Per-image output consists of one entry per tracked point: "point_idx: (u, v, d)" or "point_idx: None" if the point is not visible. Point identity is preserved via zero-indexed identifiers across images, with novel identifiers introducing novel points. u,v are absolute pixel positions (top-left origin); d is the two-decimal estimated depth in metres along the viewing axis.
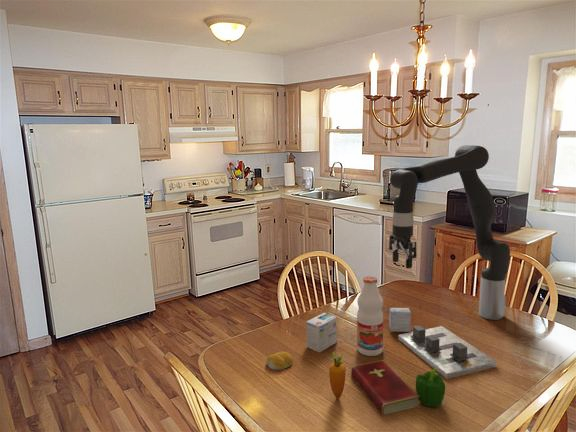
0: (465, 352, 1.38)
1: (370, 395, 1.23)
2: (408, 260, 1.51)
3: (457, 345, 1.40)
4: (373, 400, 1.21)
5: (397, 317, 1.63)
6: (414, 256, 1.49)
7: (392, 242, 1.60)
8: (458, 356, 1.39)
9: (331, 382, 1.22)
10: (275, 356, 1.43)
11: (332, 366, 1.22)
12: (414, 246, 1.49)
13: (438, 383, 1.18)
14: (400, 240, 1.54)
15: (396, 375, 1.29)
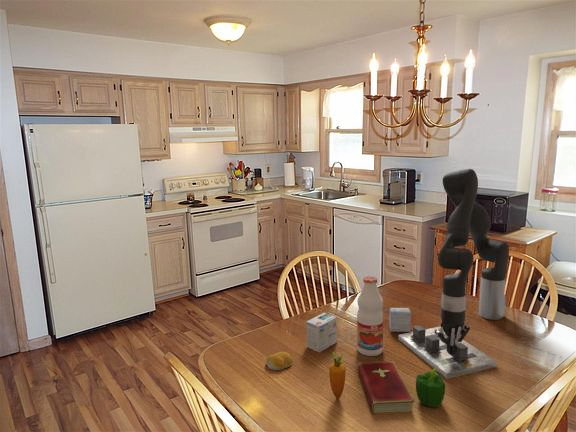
0: (465, 352, 1.39)
1: (366, 393, 1.24)
2: (455, 345, 1.38)
3: (457, 345, 1.40)
4: (368, 398, 1.22)
5: (397, 317, 1.63)
6: None
7: (443, 336, 1.36)
8: (458, 356, 1.39)
9: (331, 382, 1.22)
10: (274, 356, 1.42)
11: (332, 366, 1.22)
12: None
13: (438, 383, 1.18)
14: (455, 325, 1.36)
15: (399, 377, 1.28)
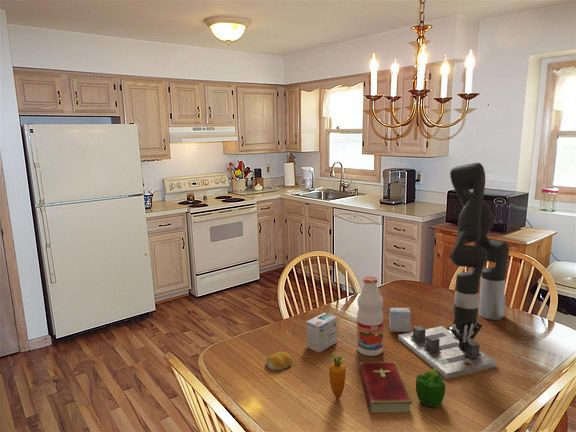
0: (477, 349, 1.40)
1: (365, 392, 1.25)
2: (467, 342, 1.40)
3: (469, 342, 1.41)
4: None
5: (397, 317, 1.63)
6: None
7: (456, 333, 1.38)
8: (470, 353, 1.40)
9: (331, 382, 1.22)
10: (274, 356, 1.42)
11: (332, 366, 1.22)
12: None
13: (438, 383, 1.18)
14: (468, 322, 1.38)
15: (400, 378, 1.28)
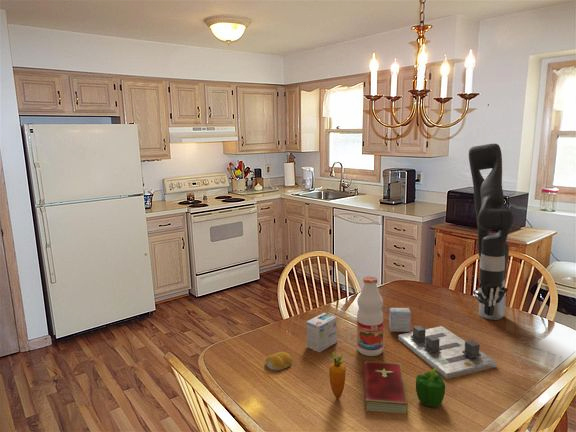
0: (477, 349, 1.40)
1: None
2: None
3: (469, 342, 1.41)
4: None
5: (397, 317, 1.63)
6: None
7: None
8: (470, 353, 1.40)
9: (331, 382, 1.22)
10: (274, 356, 1.42)
11: (332, 366, 1.22)
12: None
13: (438, 383, 1.18)
14: (493, 285, 1.38)
15: (401, 379, 1.27)
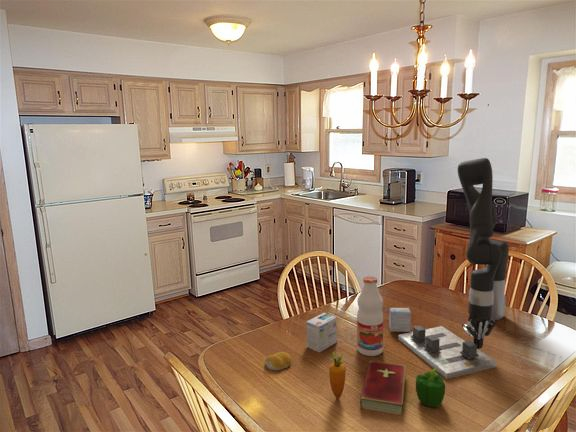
0: (475, 350, 1.40)
1: None
2: (482, 339, 1.41)
3: (467, 343, 1.41)
4: None
5: (397, 317, 1.63)
6: None
7: None
8: (468, 354, 1.40)
9: (331, 382, 1.22)
10: (274, 356, 1.42)
11: (332, 366, 1.22)
12: None
13: (438, 383, 1.18)
14: (482, 319, 1.39)
15: (401, 381, 1.26)
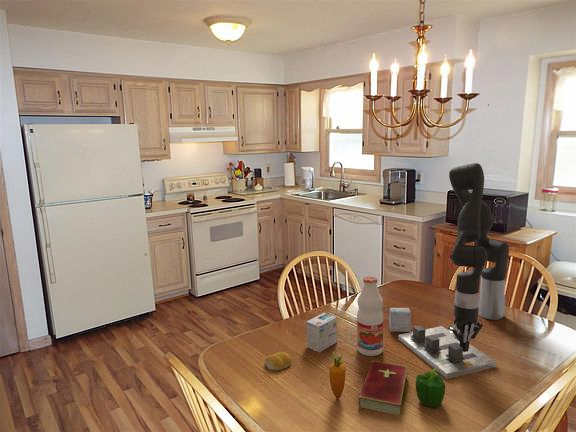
0: (461, 353, 1.38)
1: None
2: (468, 342, 1.39)
3: (453, 346, 1.39)
4: None
5: (397, 317, 1.63)
6: None
7: (457, 333, 1.37)
8: (454, 357, 1.38)
9: (331, 382, 1.22)
10: (274, 356, 1.42)
11: (332, 366, 1.22)
12: None
13: (438, 383, 1.18)
14: (468, 322, 1.37)
15: (402, 382, 1.26)
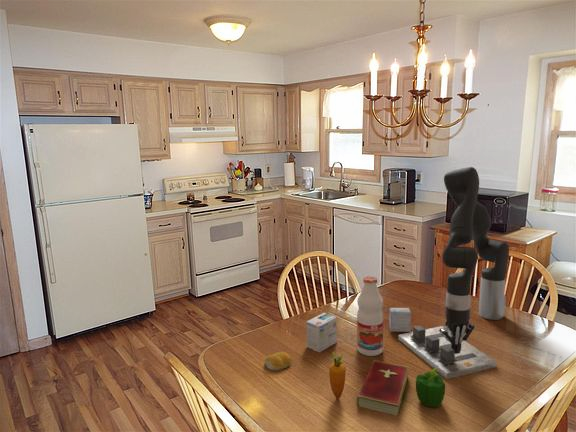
0: (452, 355, 1.37)
1: None
2: (460, 344, 1.38)
3: (444, 348, 1.38)
4: None
5: (397, 317, 1.63)
6: None
7: (448, 335, 1.36)
8: (445, 359, 1.37)
9: (331, 382, 1.22)
10: (273, 356, 1.42)
11: (332, 366, 1.22)
12: None
13: (438, 383, 1.18)
14: (460, 323, 1.36)
15: (402, 382, 1.26)
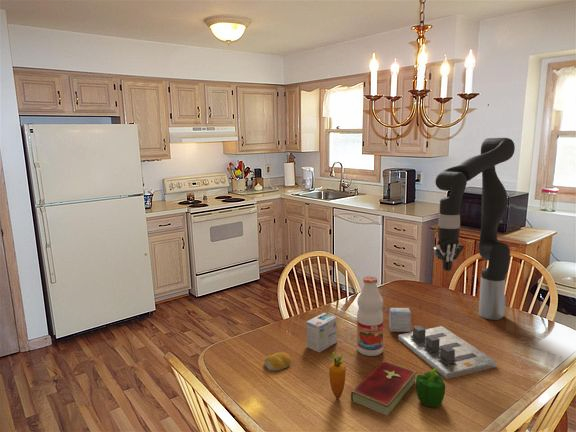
0: (453, 355, 1.37)
1: None
2: (451, 262, 1.54)
3: (445, 348, 1.38)
4: None
5: (397, 317, 1.63)
6: None
7: None
8: (445, 359, 1.37)
9: (331, 382, 1.22)
10: (273, 357, 1.42)
11: (332, 366, 1.22)
12: None
13: (438, 383, 1.18)
14: (451, 242, 1.52)
15: (402, 385, 1.24)
